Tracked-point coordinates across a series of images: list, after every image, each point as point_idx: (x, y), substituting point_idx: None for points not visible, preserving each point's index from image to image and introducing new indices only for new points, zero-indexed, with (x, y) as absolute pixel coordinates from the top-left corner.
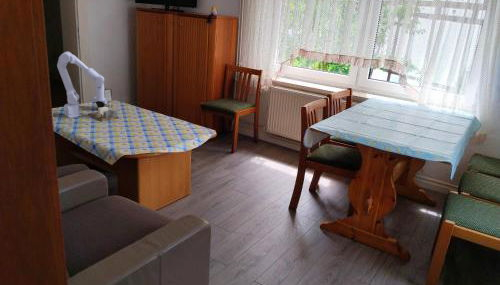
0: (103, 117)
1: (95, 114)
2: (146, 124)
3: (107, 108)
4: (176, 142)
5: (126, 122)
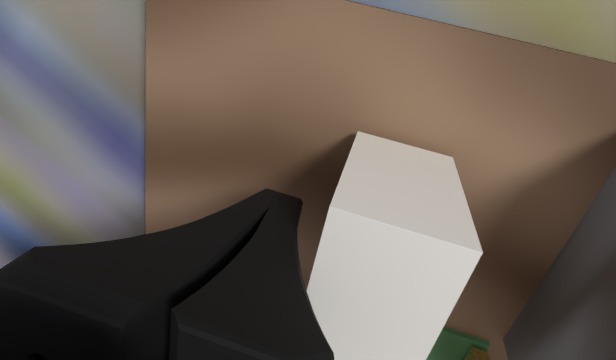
0: (492, 331)
1: None
2: None
3: (469, 260)
4: None
5: None
